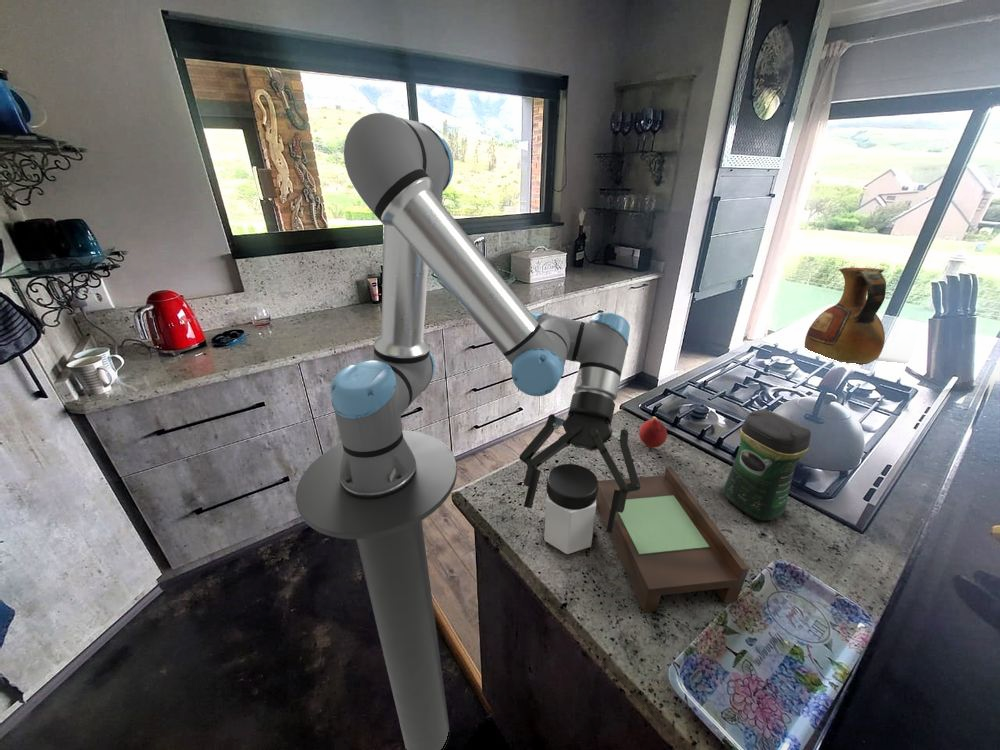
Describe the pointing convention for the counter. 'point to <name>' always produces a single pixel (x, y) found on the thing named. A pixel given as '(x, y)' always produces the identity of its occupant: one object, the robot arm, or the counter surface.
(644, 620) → the counter surface
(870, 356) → the ceramic pitcher
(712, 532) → the shelf
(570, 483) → the jar
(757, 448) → the coffee jar
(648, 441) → the onion
